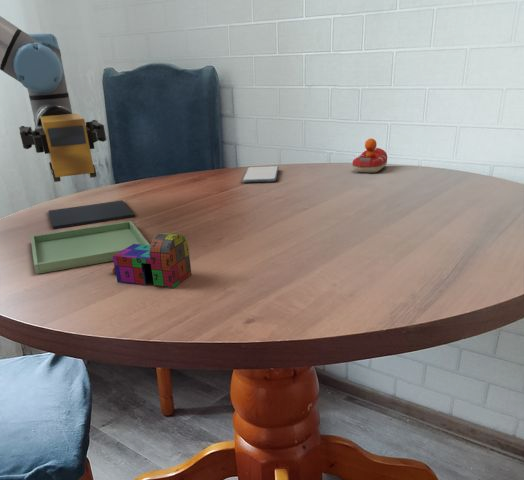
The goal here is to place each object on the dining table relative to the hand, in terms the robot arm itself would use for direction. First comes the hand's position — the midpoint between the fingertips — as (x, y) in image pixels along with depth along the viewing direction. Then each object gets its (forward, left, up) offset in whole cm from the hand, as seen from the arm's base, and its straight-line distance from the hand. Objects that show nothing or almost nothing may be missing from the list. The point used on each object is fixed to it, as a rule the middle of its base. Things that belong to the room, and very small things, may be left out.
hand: (68, 141), depth 83 cm
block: (+7, -16, -18) cm, 25 cm away
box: (0, +2, -18) cm, 18 cm away
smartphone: (+48, +40, -18) cm, 65 cm away
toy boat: (+75, +31, -18) cm, 83 cm away
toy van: (0, +5, -6) cm, 8 cm away
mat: (+3, +26, -18) cm, 32 cm away
